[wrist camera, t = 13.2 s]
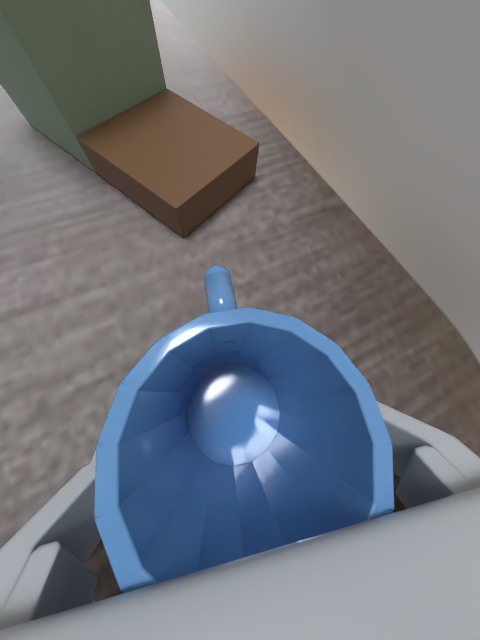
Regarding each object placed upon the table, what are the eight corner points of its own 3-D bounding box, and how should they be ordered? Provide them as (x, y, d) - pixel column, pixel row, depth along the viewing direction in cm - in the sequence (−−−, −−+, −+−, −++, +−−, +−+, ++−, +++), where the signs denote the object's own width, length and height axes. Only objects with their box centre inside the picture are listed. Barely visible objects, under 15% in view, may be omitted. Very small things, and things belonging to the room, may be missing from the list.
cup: (295, 457, 12) (450, 596, 4) (187, 483, 12) (86, 728, 3) (263, 318, 15) (311, 223, 7) (174, 332, 14) (101, 244, 6)
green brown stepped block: (180, 241, 18) (-2, -381, 3) (24, 125, 21) (-387, -425, 7) (257, 175, 21) (324, -286, 7) (111, 83, 24) (-48, -348, 10)
